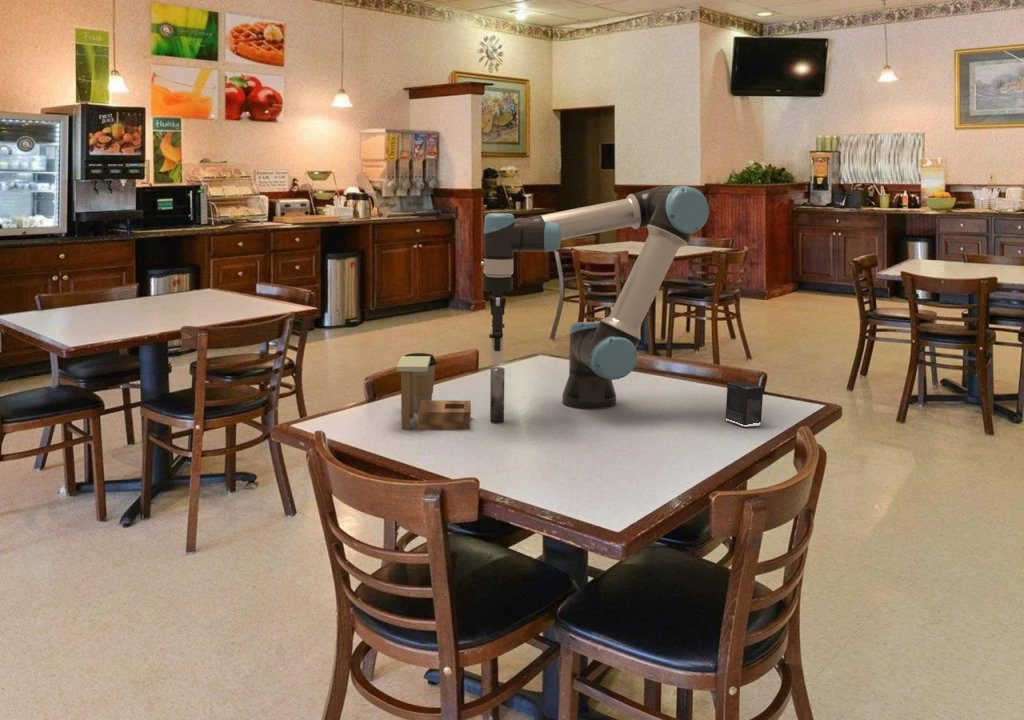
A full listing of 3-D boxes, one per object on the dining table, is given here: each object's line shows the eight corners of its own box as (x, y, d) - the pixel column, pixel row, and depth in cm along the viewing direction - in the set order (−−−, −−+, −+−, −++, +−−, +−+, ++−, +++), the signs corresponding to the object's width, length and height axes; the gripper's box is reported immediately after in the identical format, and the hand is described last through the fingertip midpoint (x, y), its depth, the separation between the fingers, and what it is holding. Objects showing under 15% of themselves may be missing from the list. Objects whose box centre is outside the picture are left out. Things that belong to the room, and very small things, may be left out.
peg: (503, 419, 245) (504, 367, 242) (504, 423, 242) (504, 370, 239) (490, 419, 245) (490, 367, 242) (490, 423, 241) (490, 370, 239)
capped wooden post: (430, 416, 247) (430, 356, 244) (427, 429, 235) (426, 366, 231) (402, 416, 247) (401, 356, 244) (397, 429, 234) (396, 366, 231)
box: (761, 426, 241) (764, 386, 239) (743, 428, 239) (746, 388, 237) (741, 418, 248) (744, 380, 246) (724, 421, 246) (726, 381, 244)
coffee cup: (431, 415, 248) (430, 360, 245) (397, 413, 250) (396, 358, 247) (440, 406, 257) (440, 353, 254) (408, 404, 259) (407, 351, 256)
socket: (470, 417, 247) (470, 400, 246) (469, 429, 235) (469, 412, 234) (421, 416, 247) (421, 400, 246) (417, 429, 235) (417, 412, 234)
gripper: (483, 269, 248) (482, 348, 252) (482, 280, 223) (481, 367, 228) (511, 270, 248) (510, 349, 252) (514, 281, 223) (512, 368, 228)
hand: (496, 358), depth 240 cm, fingers open, 13 cm apart
